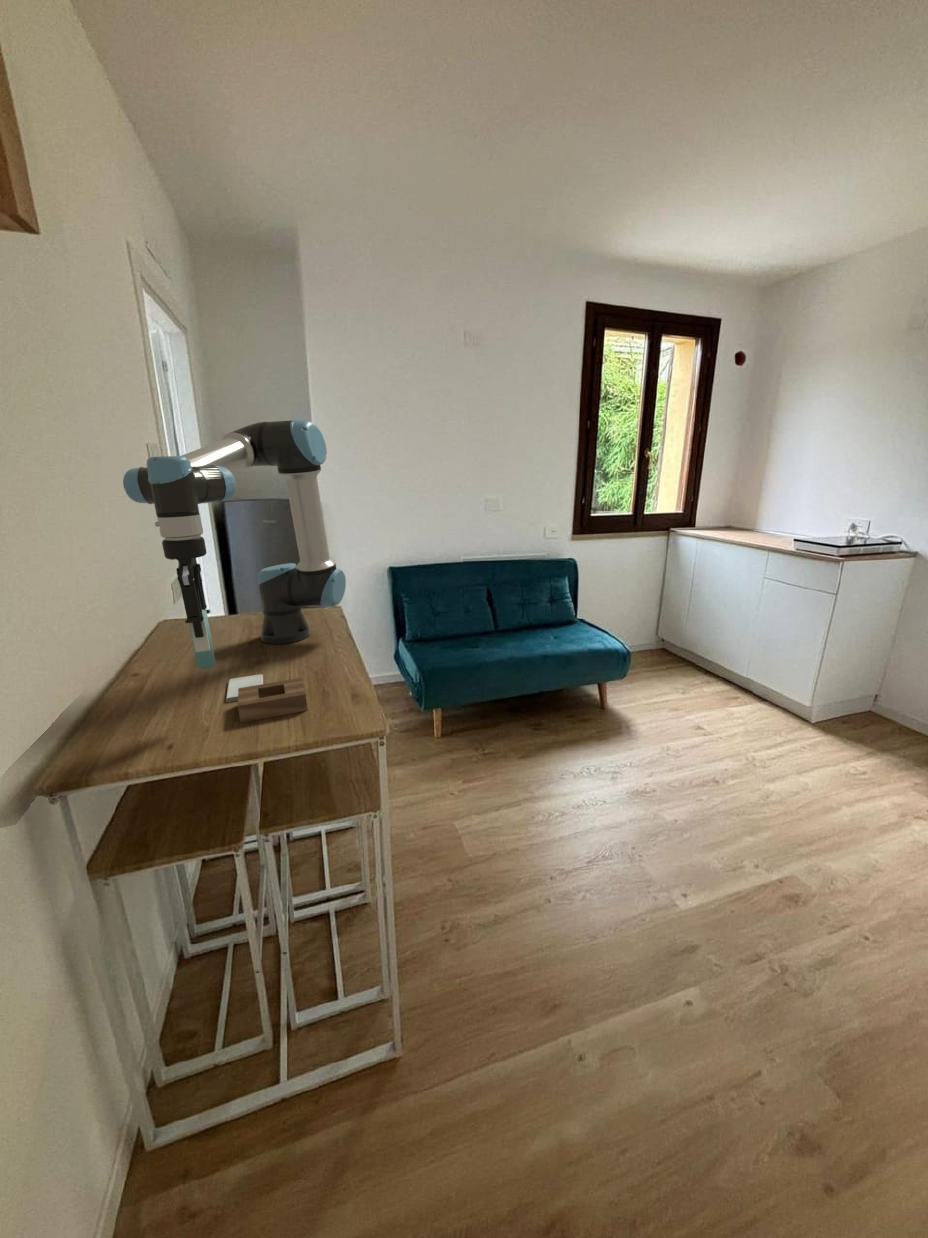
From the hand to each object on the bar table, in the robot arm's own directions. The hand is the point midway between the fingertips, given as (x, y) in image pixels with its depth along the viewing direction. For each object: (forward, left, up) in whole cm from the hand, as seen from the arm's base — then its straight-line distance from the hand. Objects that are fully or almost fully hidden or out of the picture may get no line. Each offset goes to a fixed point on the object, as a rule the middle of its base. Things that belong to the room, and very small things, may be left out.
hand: (203, 647), depth 109 cm
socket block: (+1, +12, -16) cm, 20 cm away
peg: (0, 0, -4) cm, 4 cm away
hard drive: (-13, +6, -17) cm, 22 cm away
